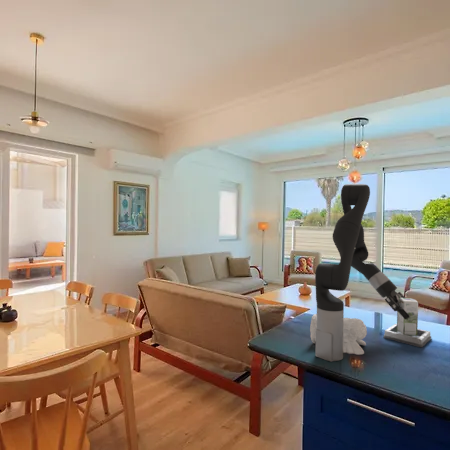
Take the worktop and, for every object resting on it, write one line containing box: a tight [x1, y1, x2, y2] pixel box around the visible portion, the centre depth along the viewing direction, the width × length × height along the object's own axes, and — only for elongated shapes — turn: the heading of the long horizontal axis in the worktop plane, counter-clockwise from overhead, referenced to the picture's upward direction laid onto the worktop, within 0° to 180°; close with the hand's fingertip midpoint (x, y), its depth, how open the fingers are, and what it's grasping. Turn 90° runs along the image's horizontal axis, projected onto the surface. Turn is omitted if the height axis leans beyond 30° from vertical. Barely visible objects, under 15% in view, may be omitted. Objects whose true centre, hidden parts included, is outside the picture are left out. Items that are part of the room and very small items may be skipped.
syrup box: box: [396, 297, 419, 336], centre depth 128 cm, size 6×6×14 cm
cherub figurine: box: [309, 313, 368, 356], centre depth 119 cm, size 13×12×20 cm
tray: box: [383, 323, 432, 348], centre depth 128 cm, size 14×14×3 cm
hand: (411, 316), depth 127 cm, fingers closed on syrup box, 8 cm apart
